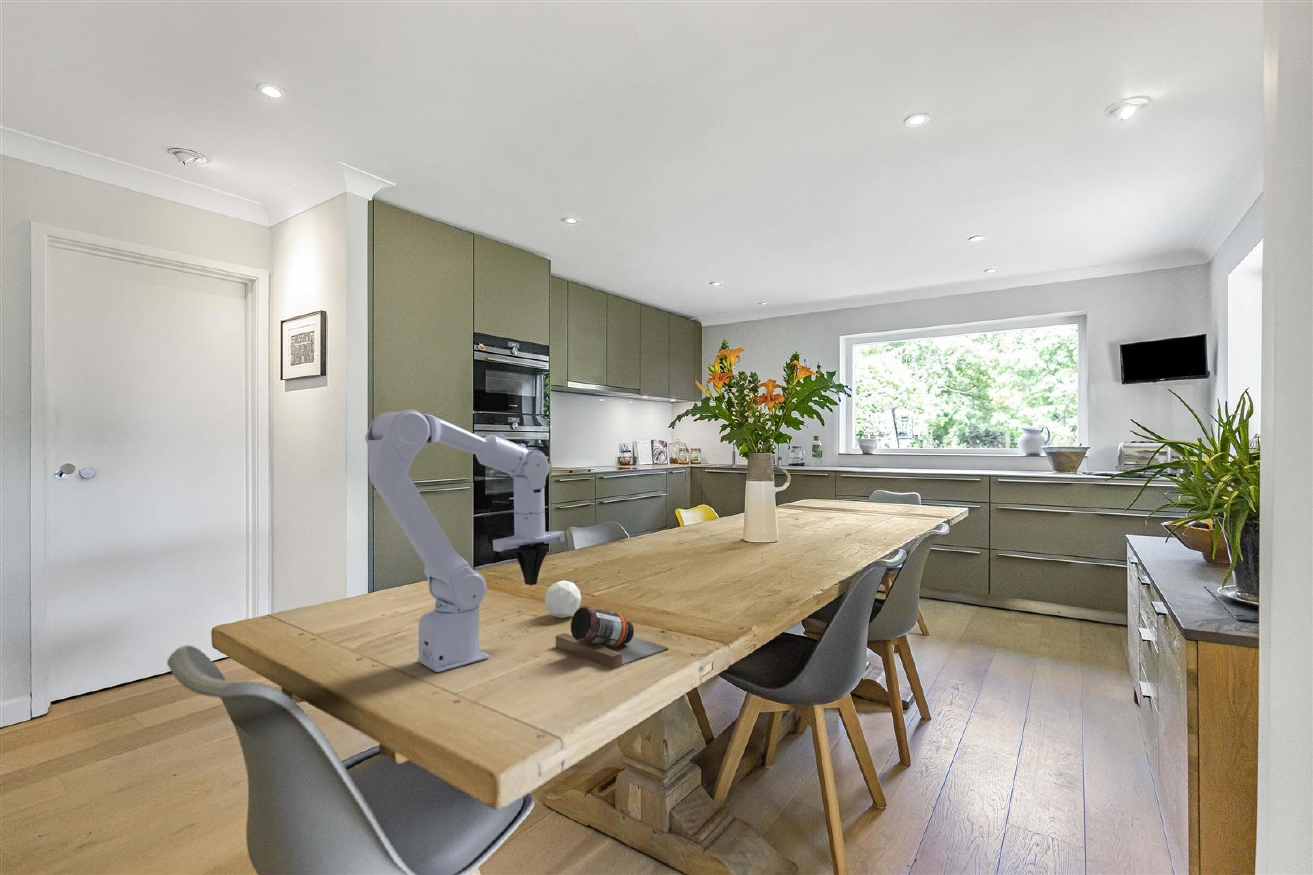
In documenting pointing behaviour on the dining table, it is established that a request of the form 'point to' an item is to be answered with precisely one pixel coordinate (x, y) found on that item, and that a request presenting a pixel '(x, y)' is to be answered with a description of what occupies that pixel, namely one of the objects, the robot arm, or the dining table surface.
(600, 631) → the supplement bottle
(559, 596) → the geometric ball
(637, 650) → the stop bar and mat
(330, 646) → the dining table surface
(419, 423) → the robot arm
